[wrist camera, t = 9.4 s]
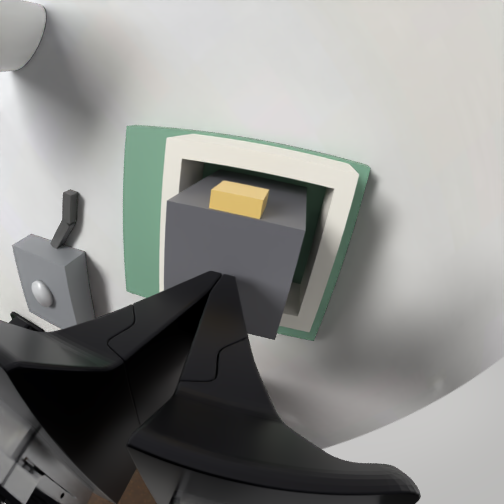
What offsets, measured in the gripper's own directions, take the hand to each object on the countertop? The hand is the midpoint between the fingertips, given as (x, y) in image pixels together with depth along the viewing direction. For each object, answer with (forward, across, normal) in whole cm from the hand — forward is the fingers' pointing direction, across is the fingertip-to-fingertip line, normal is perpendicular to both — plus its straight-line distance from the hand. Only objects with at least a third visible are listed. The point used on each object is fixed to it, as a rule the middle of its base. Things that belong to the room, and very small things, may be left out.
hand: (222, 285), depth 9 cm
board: (+8, +2, +2) cm, 8 cm away
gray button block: (+8, +16, +7) cm, 19 cm away
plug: (+6, 0, 0) cm, 7 cm away
